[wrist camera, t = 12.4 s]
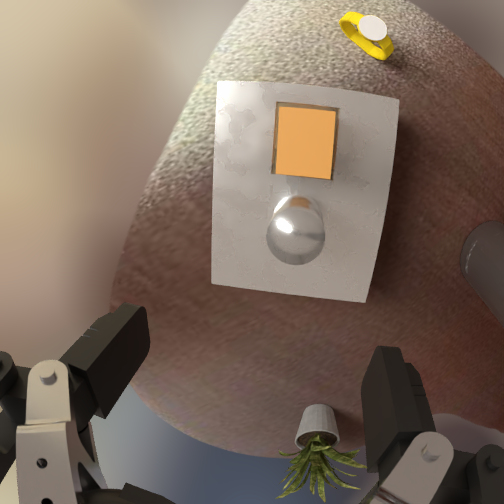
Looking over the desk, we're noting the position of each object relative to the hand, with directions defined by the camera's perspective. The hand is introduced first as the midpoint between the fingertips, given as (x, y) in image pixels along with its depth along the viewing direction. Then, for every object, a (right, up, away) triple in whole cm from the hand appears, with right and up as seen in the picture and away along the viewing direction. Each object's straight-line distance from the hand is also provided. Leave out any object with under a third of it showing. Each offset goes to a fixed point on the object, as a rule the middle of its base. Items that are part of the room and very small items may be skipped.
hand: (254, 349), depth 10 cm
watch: (+12, +26, +16) cm, 32 cm away
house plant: (+11, -25, +37) cm, 46 cm away
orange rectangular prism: (+5, +15, +20) cm, 25 cm away
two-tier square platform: (+5, +10, +23) cm, 26 cm away
